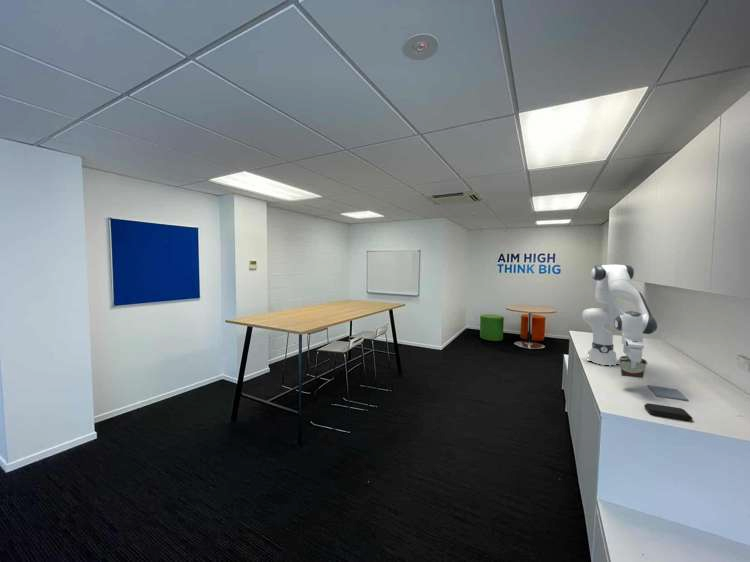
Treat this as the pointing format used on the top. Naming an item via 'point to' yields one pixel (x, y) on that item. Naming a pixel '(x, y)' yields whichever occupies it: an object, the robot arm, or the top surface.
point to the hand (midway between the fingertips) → (631, 365)
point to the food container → (632, 372)
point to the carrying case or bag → (668, 412)
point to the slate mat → (667, 393)
